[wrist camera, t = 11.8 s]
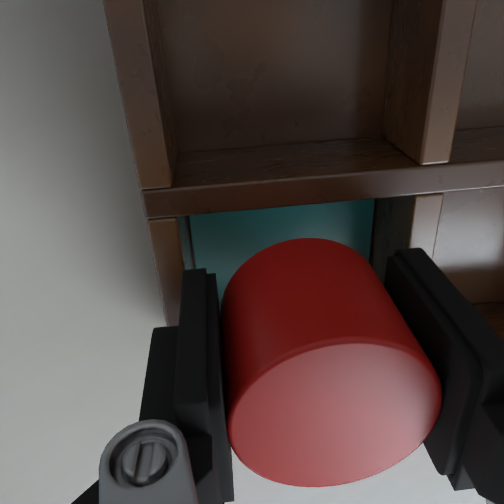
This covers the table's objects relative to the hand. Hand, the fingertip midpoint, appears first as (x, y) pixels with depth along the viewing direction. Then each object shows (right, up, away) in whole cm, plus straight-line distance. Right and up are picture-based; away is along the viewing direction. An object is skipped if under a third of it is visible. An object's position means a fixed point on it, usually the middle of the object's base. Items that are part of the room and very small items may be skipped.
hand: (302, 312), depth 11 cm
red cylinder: (0, 0, 0) cm, 0 cm away
